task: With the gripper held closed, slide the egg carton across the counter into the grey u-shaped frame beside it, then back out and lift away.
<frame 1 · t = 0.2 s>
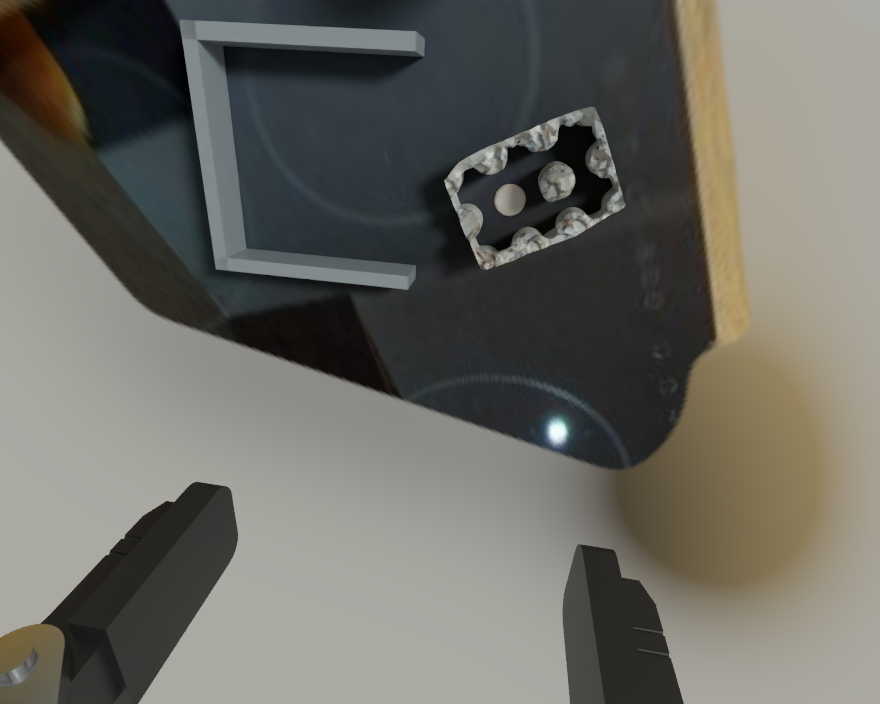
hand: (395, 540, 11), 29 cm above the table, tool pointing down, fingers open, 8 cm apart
egg carton: (530, 186, 35), on the table
grey u-shaped frame: (325, 162, 36), on the table
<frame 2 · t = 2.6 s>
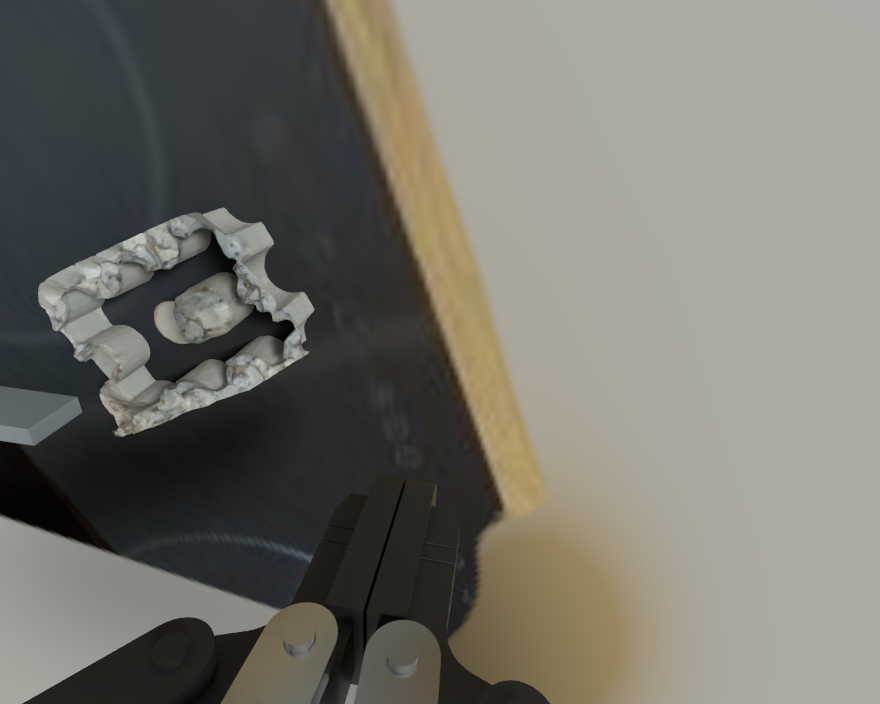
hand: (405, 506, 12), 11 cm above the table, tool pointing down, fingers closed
egg carton: (206, 303, 23), on the table
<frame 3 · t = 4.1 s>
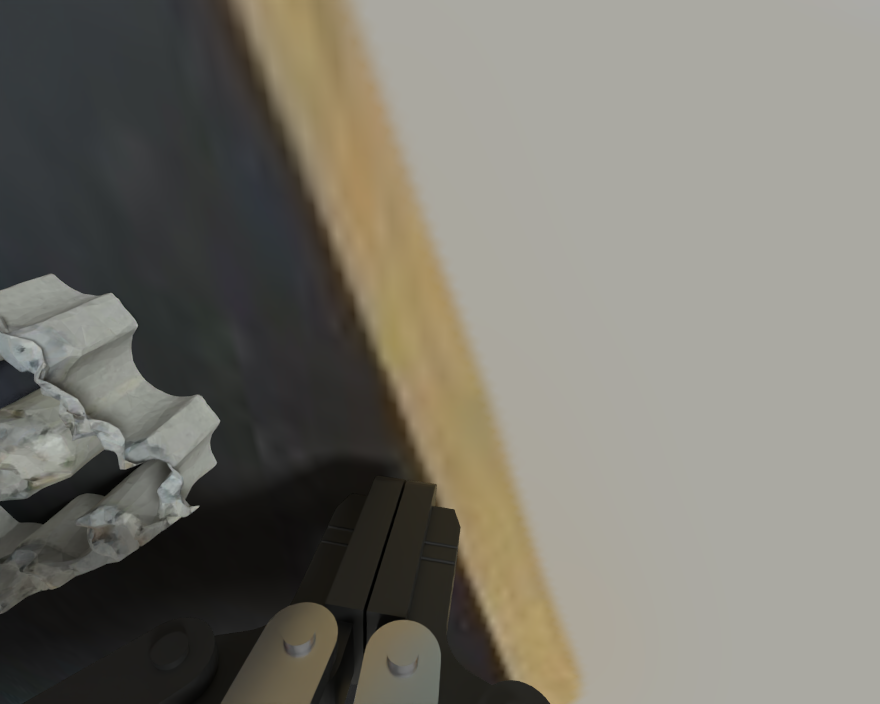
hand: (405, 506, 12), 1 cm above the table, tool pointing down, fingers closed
egg carton: (66, 414, 15), on the table
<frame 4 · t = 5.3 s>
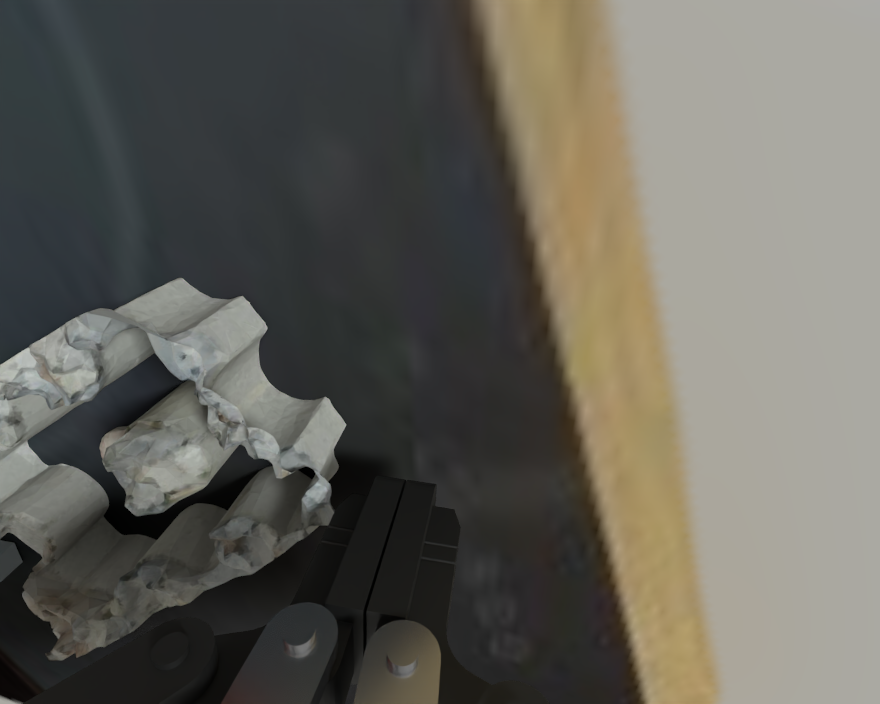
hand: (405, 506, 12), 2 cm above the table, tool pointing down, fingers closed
egg carton: (176, 424, 15), on the table, touching gripper
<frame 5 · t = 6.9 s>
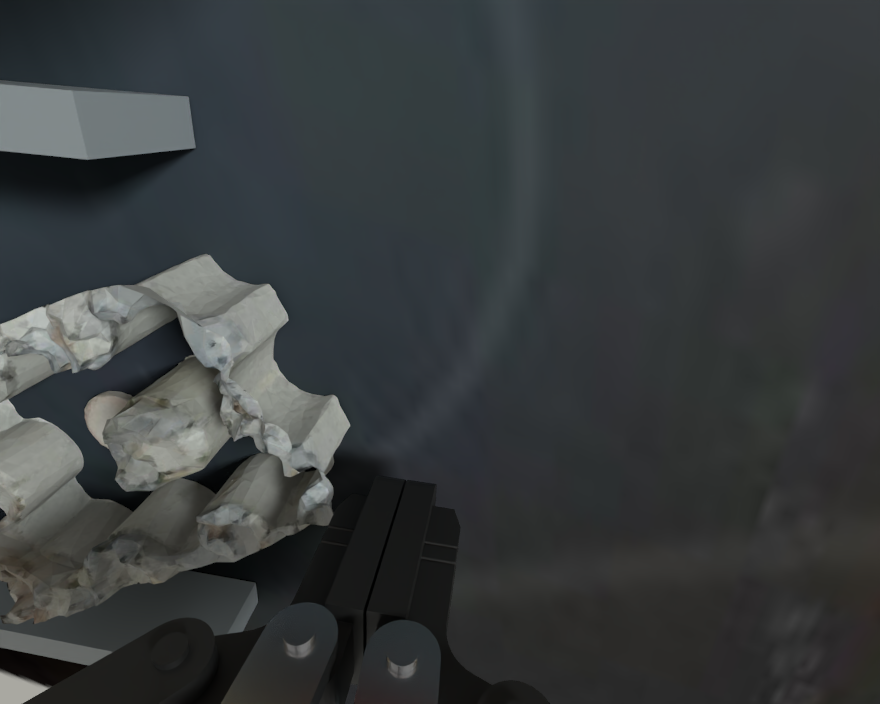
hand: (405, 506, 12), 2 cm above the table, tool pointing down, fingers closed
egg carton: (170, 397, 14), on the table, touching gripper
grey u-shaped frame: (8, 381, 14), on the table
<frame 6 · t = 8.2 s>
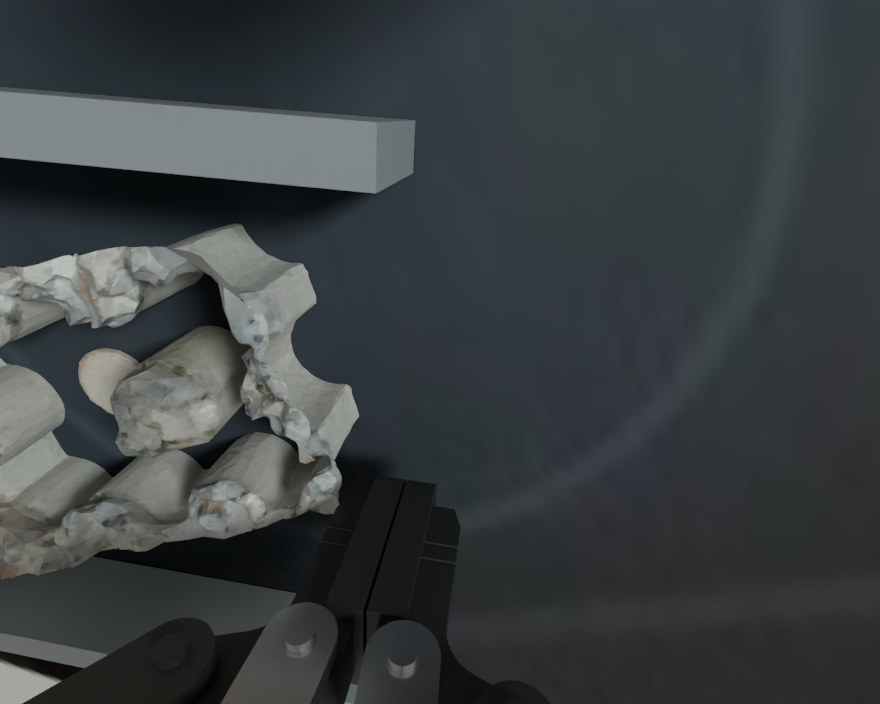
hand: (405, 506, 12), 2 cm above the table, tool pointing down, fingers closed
egg carton: (173, 362, 14), on the table
grey u-shaped frame: (162, 408, 14), on the table
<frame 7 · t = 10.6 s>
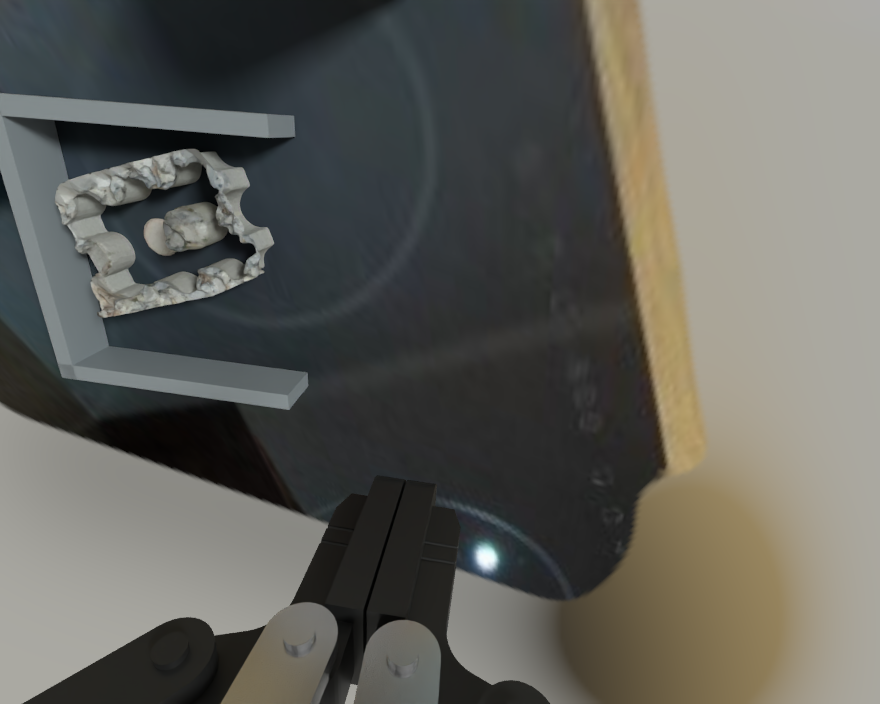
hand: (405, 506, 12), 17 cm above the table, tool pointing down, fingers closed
egg carton: (188, 225, 29), on the table
grey u-shaped frame: (190, 254, 29), on the table
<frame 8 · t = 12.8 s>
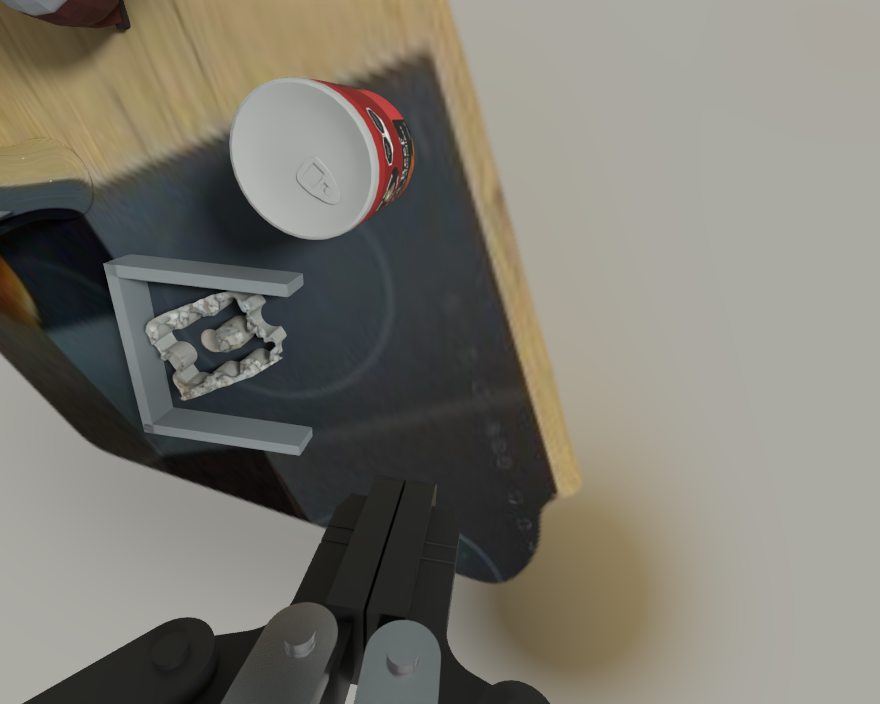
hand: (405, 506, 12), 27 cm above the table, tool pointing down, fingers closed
canned food: (363, 150, 35), on the table
beer glass: (60, 179, 39), on the table
egg carton: (229, 330, 43), on the table
grey u-shaped frame: (232, 351, 43), on the table
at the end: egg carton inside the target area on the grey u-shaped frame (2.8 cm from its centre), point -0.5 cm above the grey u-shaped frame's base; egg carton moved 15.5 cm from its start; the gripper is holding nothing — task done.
